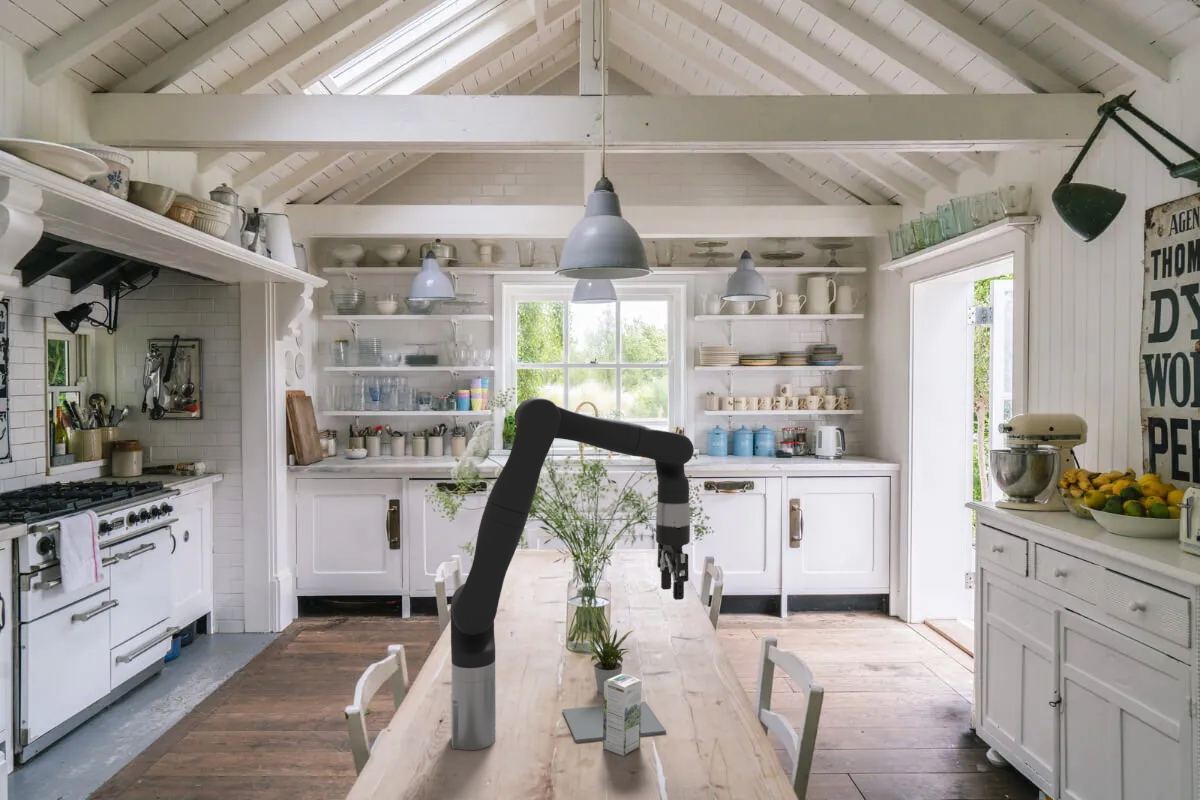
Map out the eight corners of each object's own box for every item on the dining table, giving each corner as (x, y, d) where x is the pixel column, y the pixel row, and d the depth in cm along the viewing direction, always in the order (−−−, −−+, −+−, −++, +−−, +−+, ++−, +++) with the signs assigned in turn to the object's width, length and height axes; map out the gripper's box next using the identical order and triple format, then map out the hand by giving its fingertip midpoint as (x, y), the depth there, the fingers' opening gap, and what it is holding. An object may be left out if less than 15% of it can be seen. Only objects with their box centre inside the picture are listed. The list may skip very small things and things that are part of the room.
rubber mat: (575, 742, 170) (575, 739, 170) (562, 711, 185) (562, 709, 185) (665, 733, 174) (665, 730, 174) (645, 704, 190) (645, 701, 190)
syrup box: (619, 739, 171) (619, 672, 171) (641, 747, 167) (641, 678, 167) (602, 748, 167) (602, 679, 167) (624, 757, 163) (624, 686, 163)
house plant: (564, 696, 194) (564, 629, 194) (586, 676, 207) (586, 614, 207) (620, 705, 189) (620, 636, 189) (638, 684, 202) (639, 620, 202)
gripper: (647, 517, 185) (646, 586, 185) (667, 528, 171) (666, 603, 172) (678, 516, 187) (677, 585, 187) (700, 527, 173) (699, 601, 173)
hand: (672, 594), depth 179 cm, fingers open, 8 cm apart
